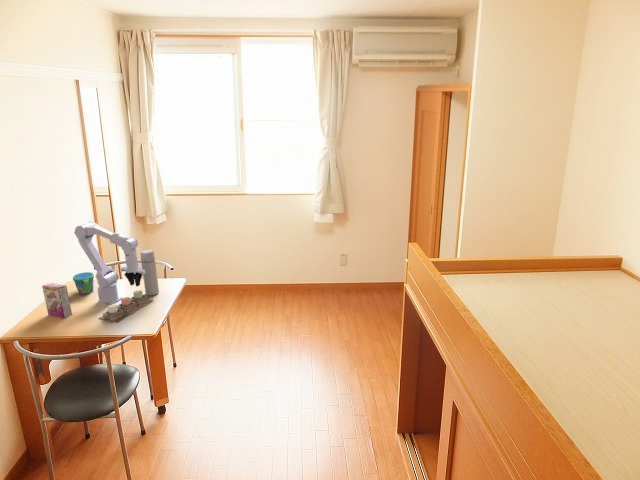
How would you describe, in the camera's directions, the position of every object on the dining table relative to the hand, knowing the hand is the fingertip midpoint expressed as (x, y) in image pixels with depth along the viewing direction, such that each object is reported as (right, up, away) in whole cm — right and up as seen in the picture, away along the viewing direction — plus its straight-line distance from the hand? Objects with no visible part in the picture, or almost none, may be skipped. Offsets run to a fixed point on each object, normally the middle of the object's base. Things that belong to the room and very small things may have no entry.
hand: (135, 285), depth 237 cm
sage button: (0, -7, +3) cm, 8 cm away
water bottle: (+3, -6, +16) cm, 17 cm away
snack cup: (-35, -6, +17) cm, 40 cm away
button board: (-3, -12, -4) cm, 13 cm away
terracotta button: (-3, -10, -5) cm, 11 cm away
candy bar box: (-34, -14, -9) cm, 38 cm away
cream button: (-6, -13, -13) cm, 19 cm away
